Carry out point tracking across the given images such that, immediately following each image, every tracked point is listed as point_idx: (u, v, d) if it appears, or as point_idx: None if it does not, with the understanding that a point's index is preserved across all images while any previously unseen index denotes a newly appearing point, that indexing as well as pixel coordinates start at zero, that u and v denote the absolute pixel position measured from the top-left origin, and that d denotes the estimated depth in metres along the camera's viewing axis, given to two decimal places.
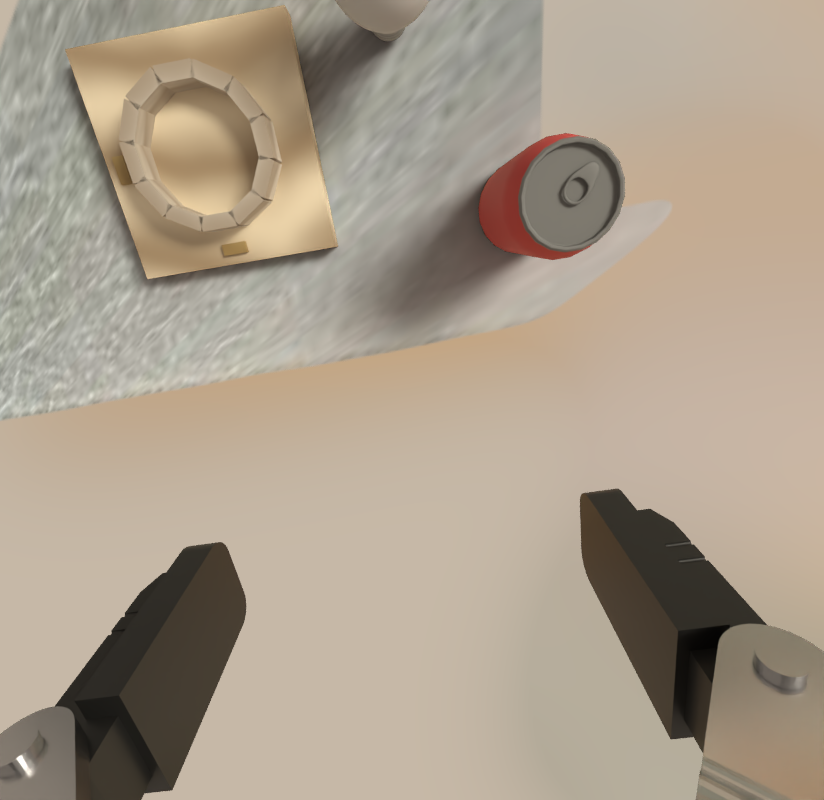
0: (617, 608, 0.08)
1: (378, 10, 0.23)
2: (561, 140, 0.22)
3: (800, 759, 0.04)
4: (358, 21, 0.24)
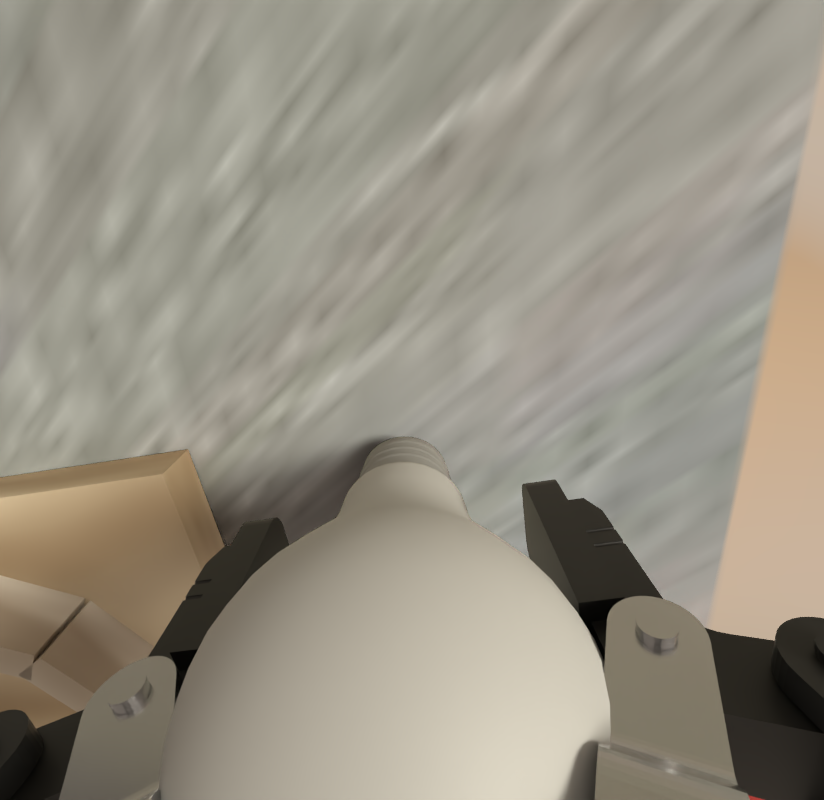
0: None
1: None
2: None
3: (677, 711, 0.05)
4: None
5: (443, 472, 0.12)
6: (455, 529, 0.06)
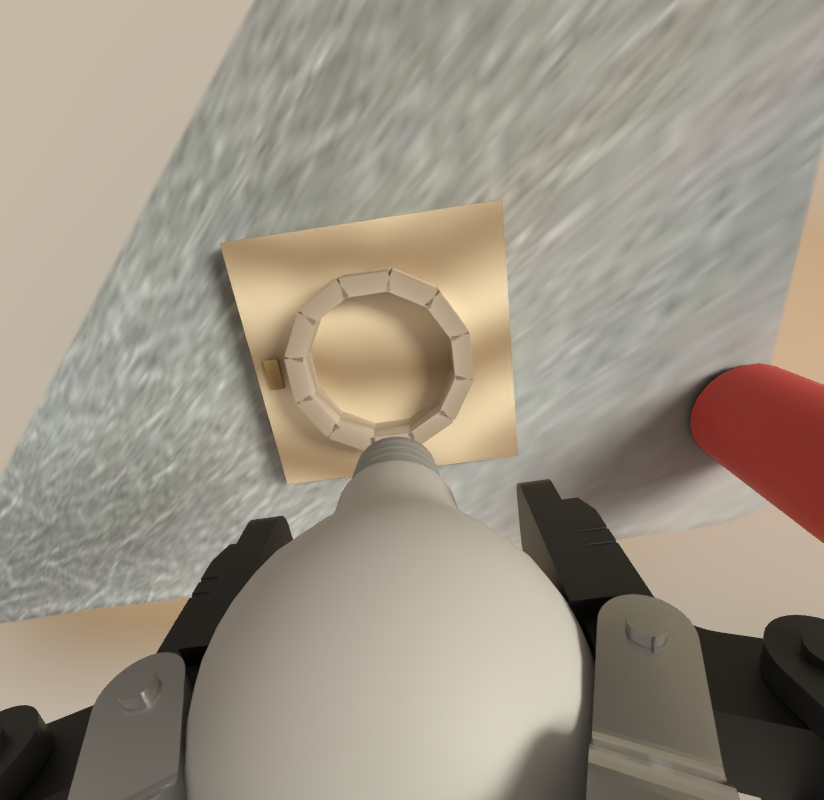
0: None
1: None
2: None
3: (667, 708, 0.05)
4: None
5: (431, 467, 0.12)
6: (437, 516, 0.07)
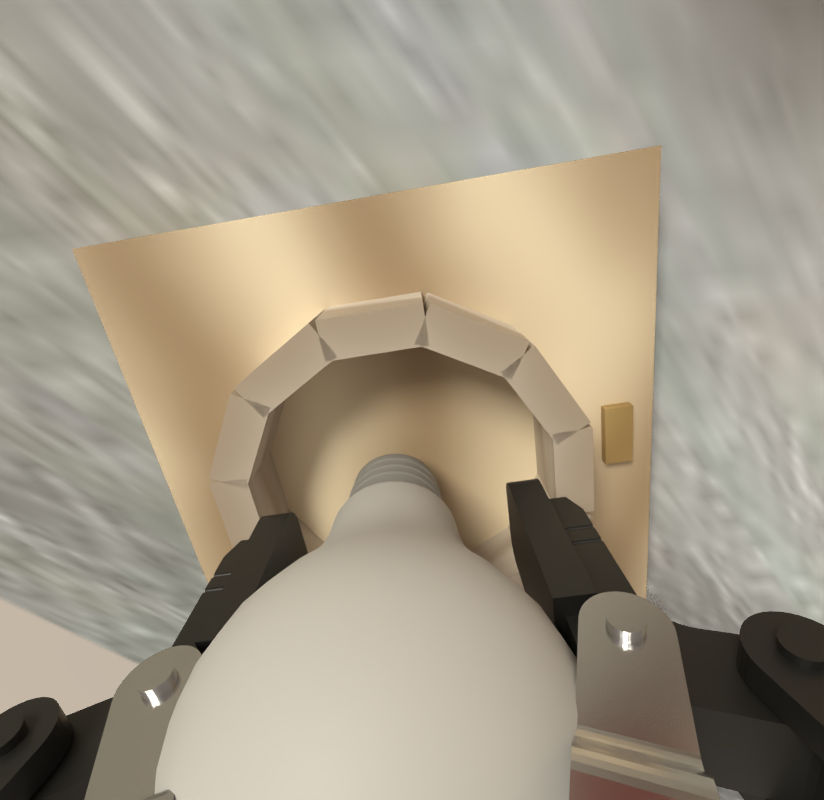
0: (529, 586, 0.09)
1: None
2: None
3: (647, 701, 0.05)
4: None
5: (426, 484, 0.12)
6: (404, 552, 0.06)
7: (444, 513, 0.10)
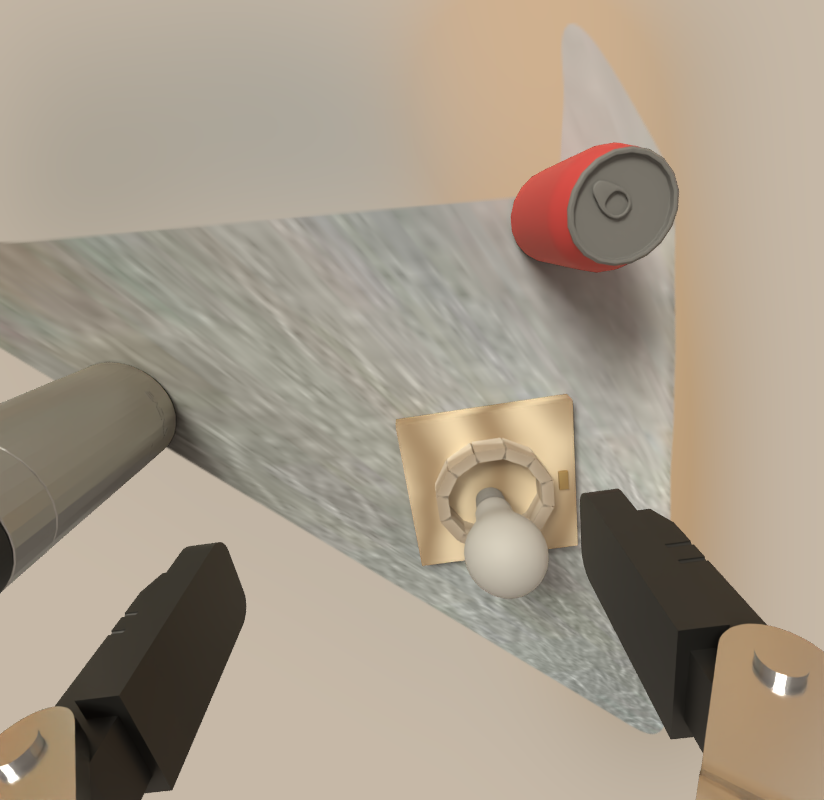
0: (617, 608, 0.08)
1: None
2: (570, 226, 0.23)
3: (800, 758, 0.04)
4: None
5: (502, 497, 0.38)
6: (509, 513, 0.33)
7: (510, 506, 0.37)
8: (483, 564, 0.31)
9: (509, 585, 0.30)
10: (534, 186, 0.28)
